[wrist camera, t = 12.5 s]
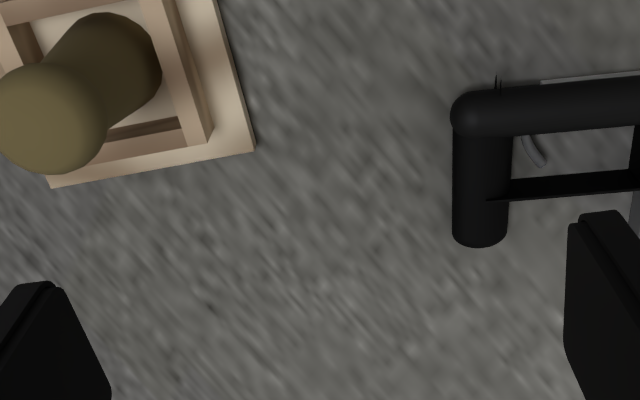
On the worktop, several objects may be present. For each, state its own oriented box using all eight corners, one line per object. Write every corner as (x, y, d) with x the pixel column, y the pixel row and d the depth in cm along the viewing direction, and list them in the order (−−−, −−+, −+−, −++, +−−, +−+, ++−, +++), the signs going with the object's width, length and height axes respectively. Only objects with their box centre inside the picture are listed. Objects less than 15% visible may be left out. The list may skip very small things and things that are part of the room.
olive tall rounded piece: (142, 1, 34) (68, 52, 25) (176, 101, 37) (122, 182, 27) (43, 23, 35) (-66, 82, 25) (84, 120, 38) (0, 205, 28)
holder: (-41, -33, 35) (-79, -23, 31) (192, -88, 33) (177, -83, 30) (58, 180, 41) (34, 206, 38) (256, 143, 40) (249, 168, 36)
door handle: (746, 278, 42) (822, 51, 33) (453, 300, 43) (454, 87, 34) (719, 249, 44) (784, 33, 36) (445, 270, 46) (445, 67, 37)
